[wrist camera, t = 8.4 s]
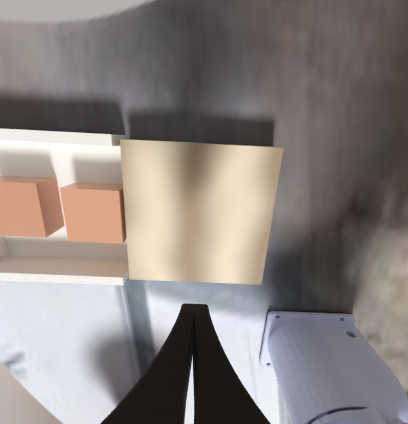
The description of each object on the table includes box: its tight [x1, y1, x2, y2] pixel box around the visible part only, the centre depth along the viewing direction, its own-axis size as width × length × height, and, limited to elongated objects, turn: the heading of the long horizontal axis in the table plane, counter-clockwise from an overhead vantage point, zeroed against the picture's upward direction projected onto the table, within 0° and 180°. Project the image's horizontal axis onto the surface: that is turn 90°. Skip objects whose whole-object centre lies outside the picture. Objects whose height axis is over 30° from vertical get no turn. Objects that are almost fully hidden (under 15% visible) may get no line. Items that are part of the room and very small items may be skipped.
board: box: [120, 139, 283, 285], centre depth 19 cm, size 12×12×2 cm
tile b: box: [0, 175, 65, 237], centre depth 18 cm, size 4×4×2 cm
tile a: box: [60, 182, 127, 244], centre depth 19 cm, size 4×4×2 cm
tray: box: [0, 128, 129, 285], centre depth 19 cm, size 13×13×3 cm
